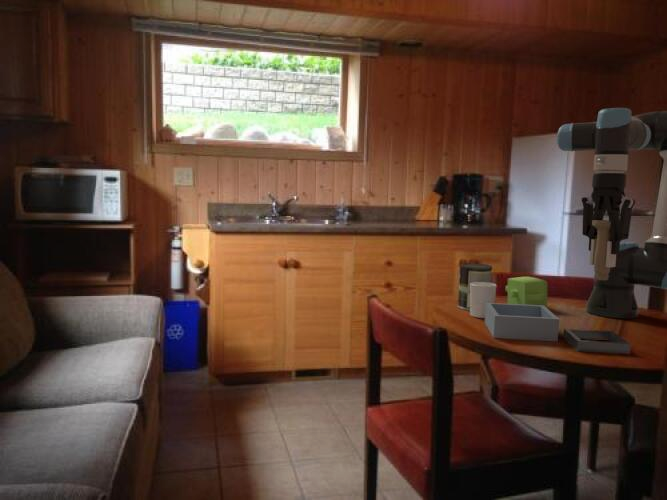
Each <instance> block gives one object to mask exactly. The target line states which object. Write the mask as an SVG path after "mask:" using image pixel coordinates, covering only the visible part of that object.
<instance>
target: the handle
mask: <svg viewBox="0 0 667 500" xmlns="http://www.w3.org/2000/svg"><path fill="white" fill-rule="evenodd" d="M592 225H593V226H594V227H596V228H597V229H598V234H597V242H596V249H595V255H594V256H595V257H594V265H593V271H594V272H593V273H594V274H593V278H594V280H595V279H596V280H604V281H606V280H608V277H609V275H608V274H609V272H610V267H609V268H608V267H606V255H607V242H608V241H609V239H611V237H610V226H611V222H609V219H603V220H592Z"/></svg>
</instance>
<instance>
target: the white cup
mask: <svg viewBox="0 0 667 500" xmlns="http://www.w3.org/2000/svg"><path fill="white" fill-rule="evenodd" d="M496 291H497V284H496V283H493V282H491V283H488V282H471V283H470V311H469V316H470V317H474V318H479V319H485V309H486V303H495V299H496Z"/></svg>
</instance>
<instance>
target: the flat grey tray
mask: <svg viewBox="0 0 667 500" xmlns="http://www.w3.org/2000/svg"><path fill="white" fill-rule="evenodd" d="M562 335H563V336H562V337H563V339H564V340H565V341H566V342H567V343H568V344H569V345H570V346H572V348H574V349H575V350H576V351H577V352H583V353H584V352H585V353H589V352H590V353H602V354H603V353H604V354H605V353H606V354H607V353H608V354H620V355H622V354H623V355H630V354H631V345H632V344H631V343H630V342H628V341H627V340H626V339H625V338H623V337H621V336H620V335H619V334H617V333H616V332H614V331H612V330H599V329H583V328H582V329H581V328H563V333H562ZM581 339H585V340H581ZM591 339H609V340H610V342H609V341H596V340H591Z"/></svg>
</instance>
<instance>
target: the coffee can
mask: <svg viewBox="0 0 667 500" xmlns="http://www.w3.org/2000/svg"><path fill="white" fill-rule="evenodd" d="M492 270H493V266H492V265H490V264H486V263H476V262H475V263H473V262H472V263H471V262H468V263H467V262H465V263H461V264H459V279H458V295H457V296H458V299H457V308H458V309H461V310H464V311H469V312H470V283H471V282H488V283H492Z"/></svg>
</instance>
